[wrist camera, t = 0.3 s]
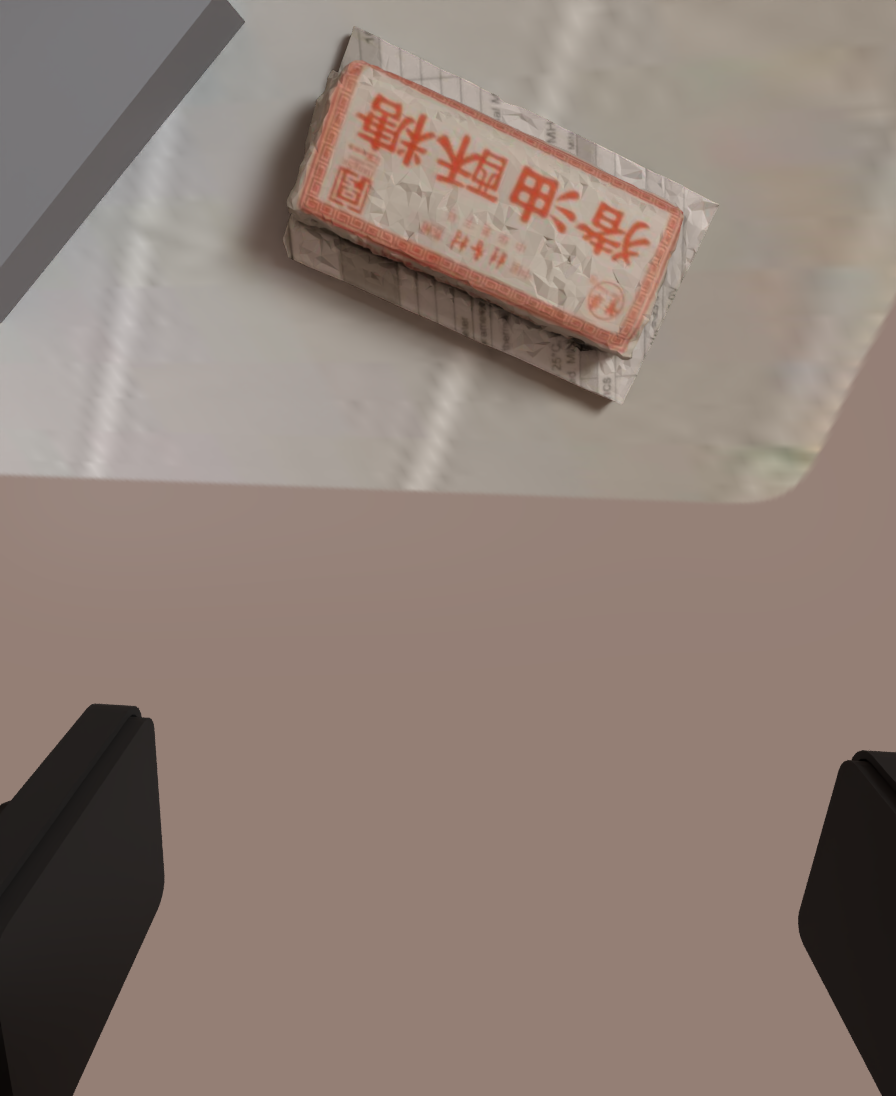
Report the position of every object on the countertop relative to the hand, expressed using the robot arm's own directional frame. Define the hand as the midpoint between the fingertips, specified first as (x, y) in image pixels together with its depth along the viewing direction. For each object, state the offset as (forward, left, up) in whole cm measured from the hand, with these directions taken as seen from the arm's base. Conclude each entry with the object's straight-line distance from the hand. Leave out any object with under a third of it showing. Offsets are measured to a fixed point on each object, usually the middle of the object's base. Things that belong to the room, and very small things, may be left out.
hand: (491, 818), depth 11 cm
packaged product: (-7, -5, -31) cm, 33 cm away
